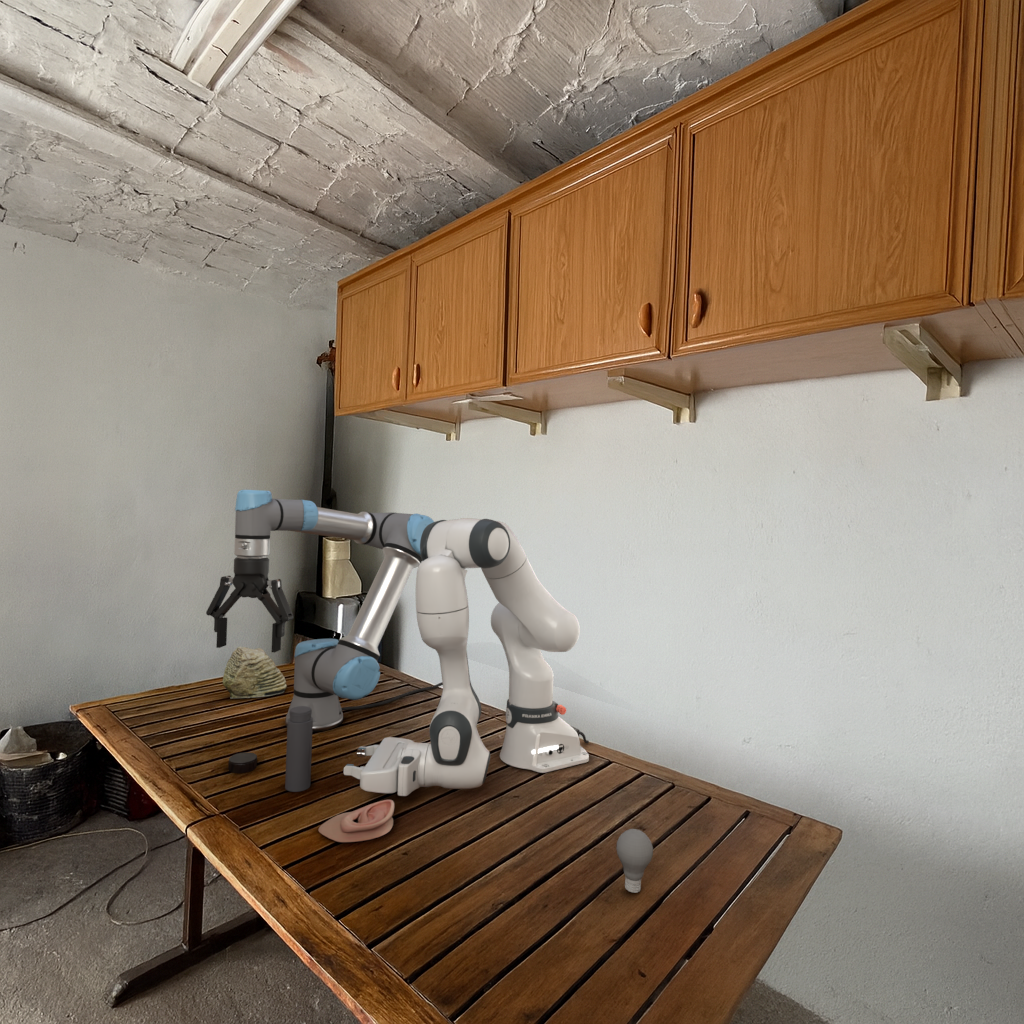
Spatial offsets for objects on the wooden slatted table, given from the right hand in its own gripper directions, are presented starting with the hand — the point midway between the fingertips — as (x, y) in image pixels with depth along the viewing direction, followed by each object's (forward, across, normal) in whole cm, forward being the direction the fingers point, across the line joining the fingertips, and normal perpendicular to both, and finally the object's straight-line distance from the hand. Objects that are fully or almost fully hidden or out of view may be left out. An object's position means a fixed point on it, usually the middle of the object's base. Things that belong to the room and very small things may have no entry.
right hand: (351, 760), depth 137 cm
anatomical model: (-6, +16, +6) cm, 18 cm away
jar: (+12, 0, +6) cm, 13 cm away
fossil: (+48, -58, +6) cm, 76 cm away
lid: (+27, -7, +4) cm, 29 cm away
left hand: (+27, -8, -21) cm, 35 cm away
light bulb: (-57, +29, +7) cm, 64 cm away
